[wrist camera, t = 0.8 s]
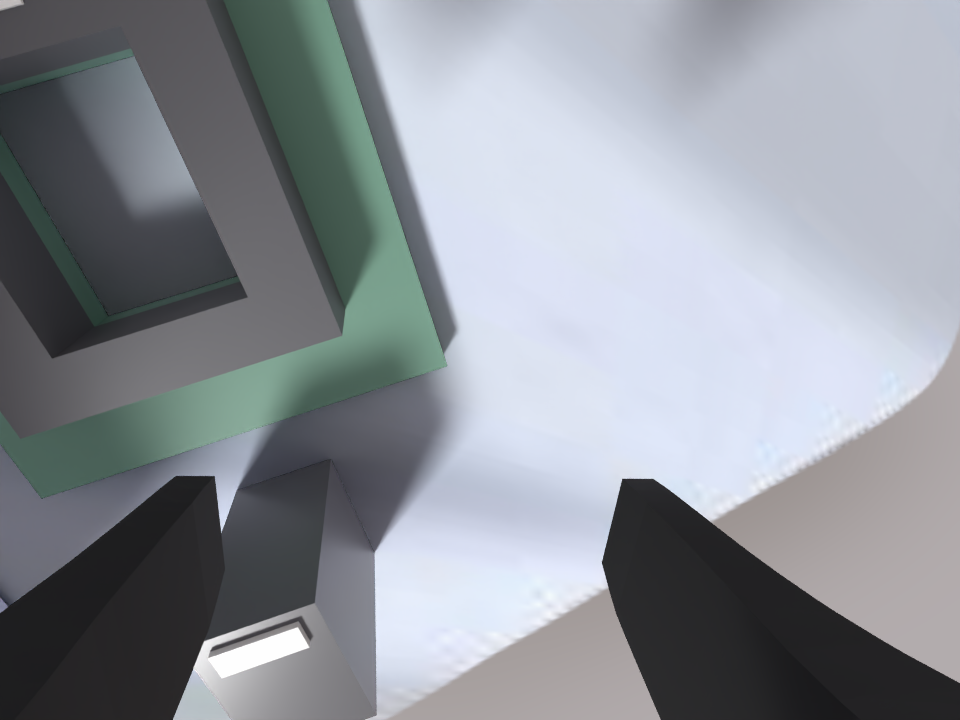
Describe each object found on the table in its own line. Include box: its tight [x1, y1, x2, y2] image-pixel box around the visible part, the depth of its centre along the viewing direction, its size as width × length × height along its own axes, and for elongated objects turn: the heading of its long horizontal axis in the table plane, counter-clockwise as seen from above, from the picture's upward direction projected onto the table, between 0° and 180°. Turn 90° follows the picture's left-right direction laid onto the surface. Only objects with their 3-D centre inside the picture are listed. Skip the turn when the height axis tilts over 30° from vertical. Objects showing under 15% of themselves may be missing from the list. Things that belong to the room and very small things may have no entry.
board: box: [0, 0, 447, 499], centre depth 15 cm, size 14×16×4 cm
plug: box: [194, 459, 377, 720], centre depth 19 cm, size 4×5×7 cm
